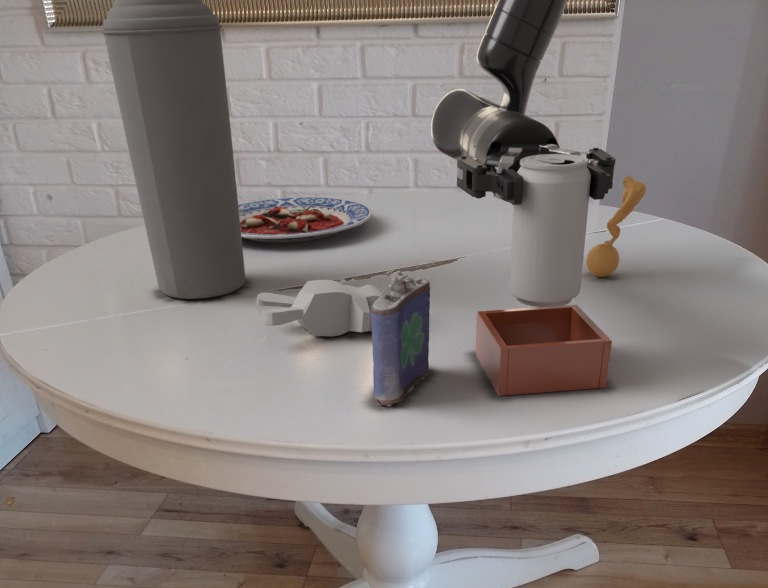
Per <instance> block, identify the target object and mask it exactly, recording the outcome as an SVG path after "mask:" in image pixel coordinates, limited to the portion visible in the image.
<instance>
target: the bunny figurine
mask: <svg viewBox="0 0 768 588" xmlns="http://www.w3.org/2000/svg"><path fill="white" fill-rule="evenodd" d="M383 293H385V292H384V291H383V289H381V288H380V287H378V286H376V285H374V284H365V285H362V286H360V287H357V286H353V285H348V284H344V283H341V282H339V281H336V280H331V279H313V280H307V281H306V282H305V284H304V285H303V286H302V288H301V289H300V290H299V292H298V294H297V295H296V297H295V296H289V295H285V294H278V293H273V292H260V293H258V294H257V296H256V305H257V306H262V307H275V308H270V309H263V310H262V323H263V324H264V325H266V326H271V327H276V326H282V325H285V324H289V323H292V322H293V323H294V322H296V321H297V323H298V324H300V325H301V326H302V327H303V328H304V329H306V330H307V331H308V332H310V333H311V335H312V336H313V337H315V338H319V337H338V336H342V335H344V334H345V333H348V332H355V333H356V332H357V333H365V332H370V333H372V324H371V307H372V305H373V303H374V302H375V301H376V300H377V299H378V298H379V297H380V296H381V295H383ZM276 307H277V308H276ZM278 307H279V308H278Z"/></svg>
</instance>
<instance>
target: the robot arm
mask: <svg viewBox="0 0 768 588" xmlns="http://www.w3.org/2000/svg"><path fill="white" fill-rule="evenodd" d="M567 1H568V0H497V2H496V5H495V8H494V10H493V12H492V15H491V17H490V19H489V22H488V24H487V26H486V29H485V31H484V32H485V33H484V34H483V36H482V39H481V41H480V44H479V46H478V49H477V52H476V62H477V64H478V66H479V67H480V68H481V69H482V70H483V71H484V72H485V73H486V74H488V75H489V76H490V77H492V78H493V79H495V81H497V82H498V84H500V85H501V88H502V101H501V104H498V103H496V102H494V101H492V100H489V99H487V98H485V97H483V96H481V95H479V94H477V93H474V92H472V91H470V90H467V89H463V88H457V89H453V90H451V91H449V92H448V93H447V94H445V95H444V96H443V97H442V98H441V99H440V101H439V102H438V104H436V107H435V109H434V111H433V114H432V118H431V124H430V135H431V139H432V142H433V145H434V147H435V148H436V149H437V150H438V151H439V152H440V153H442V154H444V155H446V156H447V157H450V158H451V159H454V160H456V187H458V188H459V189H460V190H462V191H463V192H464V193H466V194H468V195H469V196H470V197H473V198H475V199H482V198H485V197H486V196H487V192H488V193H492V194H493V197H494V198H495V199H496V198H497V199H498V200H502V201H503V202H507V203H510V204H511V205H512V206H513V205H521V204H522V199H523V177H522V176H521V175H519V174H518V173H517V172H518V170H519V169H520V167H521V165H520V160H521V159H522V158H525V157H528V156H534V155H544V154H569V155H578V156H582V154H581V152H580V151H578V150H572V149H566V148H561V147H560V144H559V141H558V140H557V138H556V136H555V134H554V133H553V131H552V130H551V129H550V128H549V127H548V126H547V125H545V124H543V122H540V121H539V120H536V119H535V118H532V117H530V116H528V115H526V112H527V107H528V103H529V98H530V94H531V91H532V88H533V85H534V81H535V78H536V75H537V72H538V70H539V67H540V65H541V63H542V61H543V59H544V57H545V54H546V52H547V50H548V49H549V46H550V44H551V42H552V39H553V37H554V35H555V33H556V31H557V28H558V26H559V24H560V21H561V19H562V16H563V14H564V11H565V7H566V4H567ZM585 157H586V158H587V159H588V164H587V168H588V170H589V172H590V174H591V184H590V194H589V198H591V199H593V200H595V201H596V200H597V201H598V200H604V199H605V195H607V194H609V190H612V189H613V186H614V182H613V181H614V174H615V165H616V160H617V158H616V157H614V156H613V155H611V154H609V153H608V152H606V151H605V150H603V149H602V148H600V147H593V148H590V149H588V151H586V154H585Z"/></svg>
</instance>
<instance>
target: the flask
mask: <svg viewBox="0 0 768 588" xmlns="http://www.w3.org/2000/svg"><path fill="white" fill-rule="evenodd" d="M388 276H390V283H389V284H388V286H387V287H388V290H386V291H385V292H384V293H383V295H381V296H380V297H379V298H378V299H377V300H376V301H375V302H374V303H373V305H372V307H371V324H372V332H371V340H372V342H371V343H372V361H373V362H372V363H373V365H372V366H373V367H372V376H373V377H372V378H373V379H372V380H373V399H374V402H375V404H377V406H387V407H388V408H389V407H392V406H393V405H395V404H399V403H401V402H402V401H403V400H404V397H405V396H406V395H408V394H410V393H411V392H413V390H414V387H415V385H419V382H420V381H421V380H424V379H425V378H426V377H427V376H428V375H429V374H430V368H429V367H430V366H429V365H430V363H429V356H430V355H429V353H430V346H429V345H430V310H431V300H430V298H431V283H430V281H429V280H428V279H425V278H421V277H415V276H414V277H409V275H408V274H407V273H406V274H404V273H403V272H402V271H401V270H397V271H396V269H390V270H388V271H387V272H386V273H385V276H384V278H385V279H387V278H388Z"/></svg>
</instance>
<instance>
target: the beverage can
mask: <svg viewBox="0 0 768 588" xmlns="http://www.w3.org/2000/svg"><path fill="white" fill-rule="evenodd" d="M587 164H588V159H587V158H586V156H582V155H581V156H578V155H569V154H544V155H534V156H528V157H525V158H522V159H521V160H520V165H521V167H520V169H519V170H518V172H517V173H518V174H519V175H521V176H522V177H523V199H522V204H521V205H512V206H513V207H512V227H511V228H512V229H511V248H510V249H511V251H510V268H509V272H510V273H509V293H510V294H511V296H513V297H514V298H516V300H517V301H518V302H519V303H520V304H522V305H524V306H525V305H526V306H529V307H558V306H563V305H569V304H570V303H572V300H574V299H575V298H576V297H578V296H579V295H580V293H581V287H582V286H581V285H582V277H583V276H582V275H583V265H584V255H585V244H586V234H587V225H588V224H587V223H588V214H589V203H590V197H589V194H590V184H591V174H590V172H589V170H588V168H587Z"/></svg>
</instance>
